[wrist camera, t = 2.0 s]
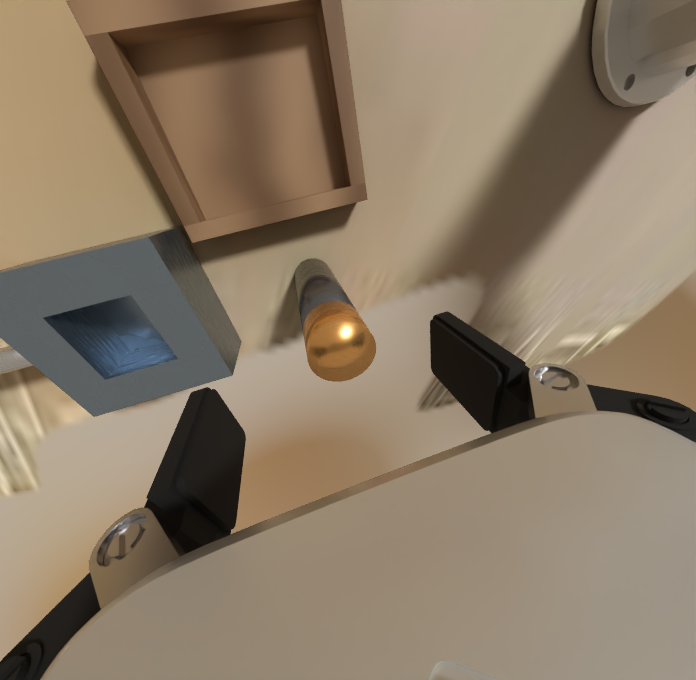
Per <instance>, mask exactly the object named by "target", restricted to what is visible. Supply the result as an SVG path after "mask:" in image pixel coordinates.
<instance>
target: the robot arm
mask: <svg viewBox="0 0 696 680" xmlns="http://www.w3.org/2000/svg"><path fill="white" fill-rule="evenodd" d="M592 59H593V69H594V74H595V77H596V80H597V83H598V86H599V88H600V90H601V91H602V93H603V94H604V96H605V98H607V99H608V100H609V101H611V102H612V103H613V104H615V105H618V106H622V107H633V106H640V105H643V104H647V103H651V102H655V101H657V100H659V99H661V98H664V97H666V96H668V95H670V94H671V93H673V92H674V91H675V90H677V89H678V88H680V87H681V86H682V85H684V84H685V83H686V82H687V81H688V80H690V79H691V78H692V77H693V76H694V75H695V74H696V0H597V5H596V11H595V18H594V24H593V33H592ZM430 336H431V337H430V341H431V369H432V372H433V374H434V375H435V376H436V377H437V378H438V379H439V380H440V381H441V383H442V384H443V385H444V386H445V387H446V388H447V389H448V390H449V391H450V393H451V394H452V395H453V396H454V397H455V398H456V399H457V400H458V401H459V403H460V404H461V405H462V406H463V407H464V408H465V409H466V410H467V411H468V412H469V414H470V415H471V416H472V417H473V418H474V419H475V420H476V421H477V422H478V423H479V425H480V426H481V427H482V428H483V429H484V430H486V431H488V430H489V431H490V432H491V434H489V435H486V436H483V437H480V438H478V439H475V440H473V441H470V442H467V443H464V444H462V445H459V446H457V447H454V448H452V449H449V450H446V451H443V452H441V453H439V454H436V455H433V456H431V457H428V458H425V459H422V460H420V461H417V462H415V463H412V464H409V465H407V466H404V467H402V468H399V469H396V470H394V471H391V472H389V473H386V474H383V475H381V476H378V477H376V478H373V479H370V480H368V481H365V482H363V483H360V484H358V485H355V486H353V487H350V488H347V489H345V490H342V491H340V492H337V493H334V494H332V495H329V496H327V497H324V498H321V499H319V500H316V501H314V502H311V503H309V504H306V505H304V506H301V507H299V508H296V509H293V510H291V511H288V512H286V513H283V514H281V515H279V516H276V517H273V518H271V519H268V520H265V521H263V522H260V523H258V524H255V525H253V526H250V527H248V528H246V529H243V530H241V531H239V532H236V533H233V534H231V535H230V533H231V529H233V528H234V527H235V524H236V517H237V509H238V501H239V492H240V484H241V474H242V466H243V458H244V449H245V441H246V437H245V433H244V430H243V429H242V427H241V426H240V425H239V423H238V422H237V420H236V419H235V418H234V416H233V414H232V413H231V411H230V410H229V408H228V407H227V405H226V404H225V403H224V401H223V400H222V398H221V397H220V395H219V394H218V392H217V391H216V390H215V389H212V390H211V389H210V388H208V387H207V388H203V389H200V390H197V391H194V392H192V393H191V394H190V396H189V399H188V401H187V403H186V406H185V408H184V410H183V413H182V415H181V418H180V420H179V422H178V424H177V427H176V429H175V432H174V434H173V436H172V439H171V441H170V444H169V446H168V448H167V451H166V453H165V455H164V458H163V460H162V463H161V465H160V467H159V469H158V472H157V474H156V476H155V479H154V481H153V483H152V486H151V488H150V491H149V493H148V495H147V499H148V500H147V502H146V505H145V507H144V508H138V509H134V510H132V511H130V512H129V513H127V514H125V515H124V516H122V517H121V518H120V519H118V520H117V521H116V522H115V523H114V524H113V525H112V526H111V527H110V528H108V530H106V532H105V533H104V534H103V536H102V537H101V538H100V539H99V541H98V542H97V544H96V546H95V548H94V549H93V551H92V554H91V557H90V560H89V570H90V573H89V574H88V575H87V576H86V577H85V578H84V579H83V580H82V581H81V582H80V583H79V584H78V585H77V586H76V587H75V588H74V589H73V590H72V591H71V592H70V593H69V594H68V595H66V596H65V597H64V599H62V600H61V602H59V603H58V605H56V606H55V608H53V609H52V610H51V612H49V614H47V615H46V616H45V617H44V618H43V619H42V620H41V621H40V622H39V624H37V625H36V627H34V628H33V629H32V630H31V631H30V632H29V633H28V634H27V635H26V636H25V637H24V638H23V639H22V641H20V642H19V643H18V644H17V645H16V646H15V647H14V648H13V649H12V650H11V651H10V652H9V653H8V654H7V655H6V656H5V657H4V658H3V660H2V661H1V662H0V680H696V412H694V411H693V410H691V409H690V408H688V407H686V406H684V405H682V404H680V403H678V402H675V401H672V400H670V399H666V398H662V397H657V396H653V395H647V394H641V393H635V392H629V391H623V390H617V389H610V388H605V387H599V386H593V385H587V384H586V382H585V380H584V378H583V377H582V376H581V375H580V374H578V373H577V372H576V371H574V370H572V369H570V368H567V367H565V366H561V365H557V364H545V363H544V364H538V365H535V366H533V367H532V368H531V369H530V368H528V367H527V366H525V362H524V361H522V360H521V359H519V358H518V357H516V356H515V355H513V354H512V353H510V352H509V351H507V350H506V349H504V348H503V347H501V346H500V345H498V344H497V343H495V342H494V341H492V340H491V339H489V338H488V337H486V336H484V335H483V334H481V333H480V332H478V331H477V330H475V329H474V328H472V327H471V326H469V325H468V324H466V323H465V322H463V321H462V320H460V319H458V318H457V317H456V316H454V315H452V314H451V313H449V312H444V313H441V314H438V315H435V316H434V317H433V320H431V321H430Z"/></svg>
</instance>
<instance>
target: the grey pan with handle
mask: <svg viewBox="0 0 696 680" xmlns="http://www.w3.org/2000/svg"><path fill="white" fill-rule="evenodd" d="M0 338H2V339H3V340H4V341H5V342H6V343H7V344H9V345H10V346H8V347H4V348H1V349H0V375H1V374H4V373H8V372H12V371H15V370H19V369H23V368H26V367H30V366H35V367H36V368H37V369H38V370H39V371H40V372H42V373H43V374H44V375H45V376H46V377H48V378H49V379H50V380H51V381H52V382H53V383H55V384H56V385H57V386H58V387H59V388H61V389H62V390H63V391H64V392H65V393H66V394H68V395H69V396H70V397H71V398H72V399H74V400H75V401H76V402H77V403H78V404H79V405H81V406H82V407H83V408H84V409H85V410H87V411H88V412H89V413H90V414H91V415H92V416H94V417H95V416H99V415H102V414H105V413H109V412H112V411H115V410H119V409H122V408H125V407H129V406H132V405H135V404H139V403H142V402H145V401H149V400H152V399H155V398H159V397H162V396H165V395H169V394H172V393H175V392H179V391H182V390H185V389H189V388H192V387H195V386H199V385H202V384H205V383H209V382H212V381H215V380H219V379H222V378H225V377H229V376H232V375H233V372H234V368H235V365H236V361H237V357H238V353H239V349H240V345H241V340H240V338H239V336H238V334H237V332H236V330H235V328H234V327H233V325H232V323H231V321H230V319H229V317H228V315H227V313H226V311H225V310H224V308H223V306H222V304H221V302H220V300H219V298H218V296H217V294H216V293H215V291H214V289H213V287H212V285H211V283H210V281H209V279H208V278H207V276H206V274H205V272H204V270H203V268H202V266H201V264H200V262H199V261H198V259H197V257H196V255H195V253H194V251H193V249H192V247H191V245H190V244H189V242H188V240H187V238H186V236H185V234H184V232H183V230H182V228H181V227H180V226H178V227H174V228H170V229H165V230H161V231H157V232H153V233H149V234H144V235H140V236H136V237H132V238H128V239H124V240H119V241H115V242H111V243H107V244H103V245H99V246H94V247H90V248H86V249H82V250H78V251H74V252H69V253H65V254H61V255H57V256H53V257H49V258H44V259H40V260H36V261H32V262H28V263H24V264H21V265H17V266H13V267H10V268H6V269H3V270H0Z"/></svg>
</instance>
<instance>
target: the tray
mask: <svg viewBox="0 0 696 680" xmlns="http://www.w3.org/2000/svg"><path fill="white" fill-rule="evenodd" d="M66 2H67V4H68V6H69V8H70V9H71V11H72V13H73V15H74V17H75V19H76V21H77V23H78V25H79V27H80V29H81V31H82V32H83V34H84V36H85V38H86V40H87V42H88V44H89V46H90V48H91V50H92V52H93V53H94V55H95V57H96V59H97V61H98V63H99V65H100V67H101V69H102V71H103V73H104V75H105V76H106V78H107V80H108V82H109V84H110V86H111V88H112V90H113V92H114V94H115V96H116V97H117V99H118V101H119V103H120V105H121V107H122V109H123V111H124V113H125V115H126V117H127V119H128V120H129V122H130V124H131V126H132V128H133V130H134V132H135V134H136V136H137V138H138V140H139V141H140V143H141V145H142V147H143V149H144V151H145V153H146V155H147V157H148V159H149V161H150V162H151V164H152V166H153V168H154V170H155V172H156V174H157V176H158V178H159V180H160V182H161V184H162V185H163V187H164V189H165V191H166V193H167V195H168V197H169V199H170V201H171V203H172V205H173V206H174V208H175V210H176V212H177V214H178V216H179V218H180V220H181V222H182V224H183V226H184V228H185V229H186V231H187V233H188V235H189V237H190V239H191V241H192V243H194V242H198V241H202V240H206V239H210V238H214V237H218V236H222V235H226V234H230V233H234V232H238V231H242V230H246V229H251V228H255V227H259V226H263V225H267V224H271V223H275V222H279V221H283V220H287V219H291V218H295V217H299V216H303V215H307V214H311V213H315V212H319V211H323V210H327V209H332V208H336V207H340V206H344V205H348V204H352V203H356V202H360V201H364V200H367V193H366V185H365V177H364V170H363V162H362V155H361V147H360V140H359V132H358V124H357V117H356V109H355V102H354V94H353V86H352V79H351V71H350V64H349V56H348V48H347V41H346V33H345V26H344V18H343V11H342V3H341V0H68V1H66Z"/></svg>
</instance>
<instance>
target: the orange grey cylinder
mask: <svg viewBox="0 0 696 680" xmlns="http://www.w3.org/2000/svg"><path fill="white" fill-rule="evenodd" d="M295 284H296V291H297V297H298V303H299V309H300V315H301V321H302V328H303V334H304V340H305V346H306V352H307V358H308V363H309V366H310V368H311V369H312V371H313V372H314V373H315V374H316V375H317V376H319V377H321V378H323V379H325V380H328V381H346V380H349V379H352V378H354V377H357V376H358V375H360V374H361V373H363V372H364V371H365V370H366V369H367V368H368V367H369V366H370V364H371V363H372V361H373V359H374V356H375V353H376V343H375V340H374V338H373V336H372V334H371V333H370V331H369V329H368V328H367V326H366V325H365V323H364V322H363V320H362V319H361V317H360V315H359V314H358V312H357V311H356V309H355V308H354V306H353V304H352V303H351V301H350V300H349V298H348V297H347V295H346V293H345V292H344V290H343V289H342V287H341V286H340V284H339V282H338V281H337V279H336V278H335V276H334V275H333V273H332V271H331V270H330V268H329V267H328V265H327V264H326V263H325V262H323V261H321V260H319V259H307V260H305V261H303V262H301V263H300V264H299V265H298V267H297V269H296V271H295Z"/></svg>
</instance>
